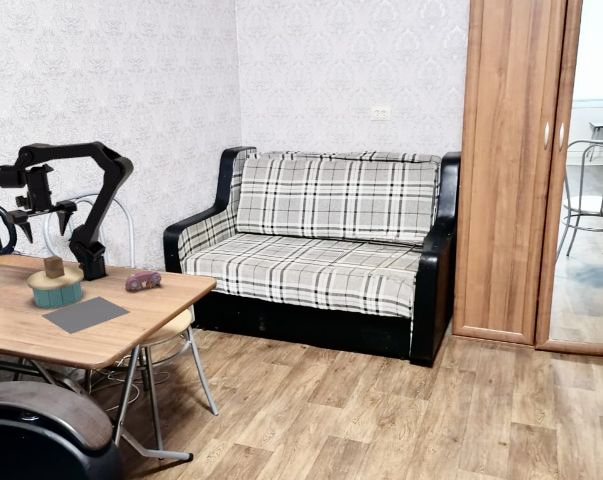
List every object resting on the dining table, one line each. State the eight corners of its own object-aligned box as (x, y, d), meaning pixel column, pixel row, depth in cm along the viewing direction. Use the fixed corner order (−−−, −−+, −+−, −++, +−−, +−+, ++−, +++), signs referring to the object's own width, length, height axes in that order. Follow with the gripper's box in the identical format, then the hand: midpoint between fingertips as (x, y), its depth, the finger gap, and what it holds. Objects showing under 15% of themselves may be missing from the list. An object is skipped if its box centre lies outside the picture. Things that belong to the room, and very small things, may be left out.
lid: (69, 267, 166) (65, 246, 164) (93, 278, 156) (90, 256, 155) (19, 281, 156) (15, 259, 154) (41, 294, 147) (37, 271, 145)
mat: (99, 298, 159) (99, 296, 159) (130, 313, 148) (130, 311, 148) (41, 317, 148) (41, 315, 148) (70, 335, 137) (70, 333, 137)
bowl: (70, 288, 166) (67, 269, 164) (90, 299, 158) (87, 278, 156) (28, 301, 158) (24, 281, 156) (47, 313, 150) (44, 291, 148)
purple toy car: (127, 298, 162) (127, 281, 158) (124, 287, 165) (123, 269, 160) (162, 291, 166) (163, 274, 162) (158, 280, 169) (159, 263, 165)
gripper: (57, 179, 179) (65, 227, 183) (-7, 190, 166) (3, 242, 171) (74, 183, 171) (82, 234, 176) (9, 195, 159) (19, 249, 163)
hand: (47, 239), depth 172 cm, fingers open, 9 cm apart
